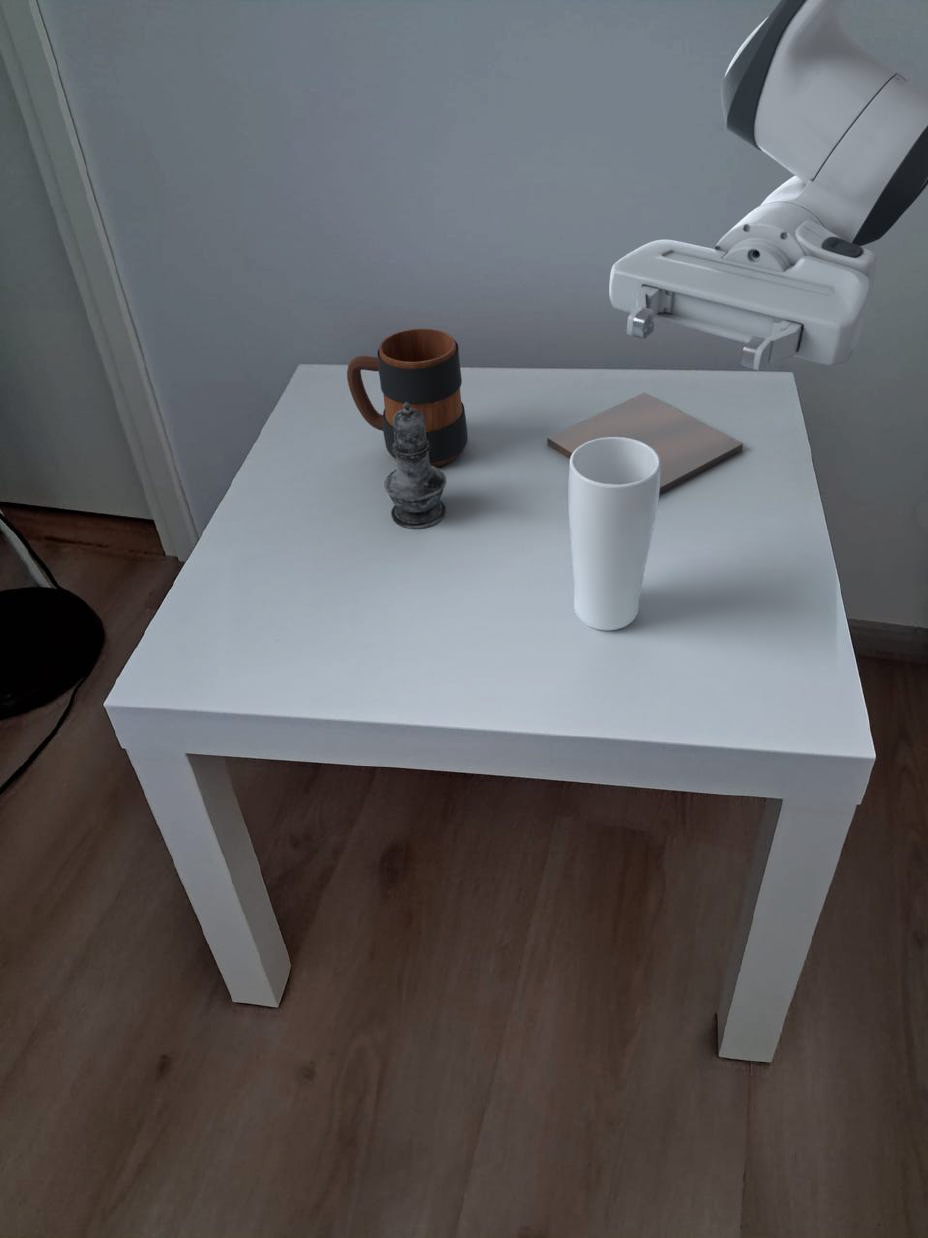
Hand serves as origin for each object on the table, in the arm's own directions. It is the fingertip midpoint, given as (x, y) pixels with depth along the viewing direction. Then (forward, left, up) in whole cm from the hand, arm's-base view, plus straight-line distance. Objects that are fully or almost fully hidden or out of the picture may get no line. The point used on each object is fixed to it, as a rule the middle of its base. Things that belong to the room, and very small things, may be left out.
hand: (691, 343), depth 70 cm
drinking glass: (-2, +10, -20) cm, 23 cm away
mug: (+30, +8, -20) cm, 37 cm away
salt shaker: (+20, +14, -20) cm, 31 cm away
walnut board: (+14, -10, -20) cm, 26 cm away
